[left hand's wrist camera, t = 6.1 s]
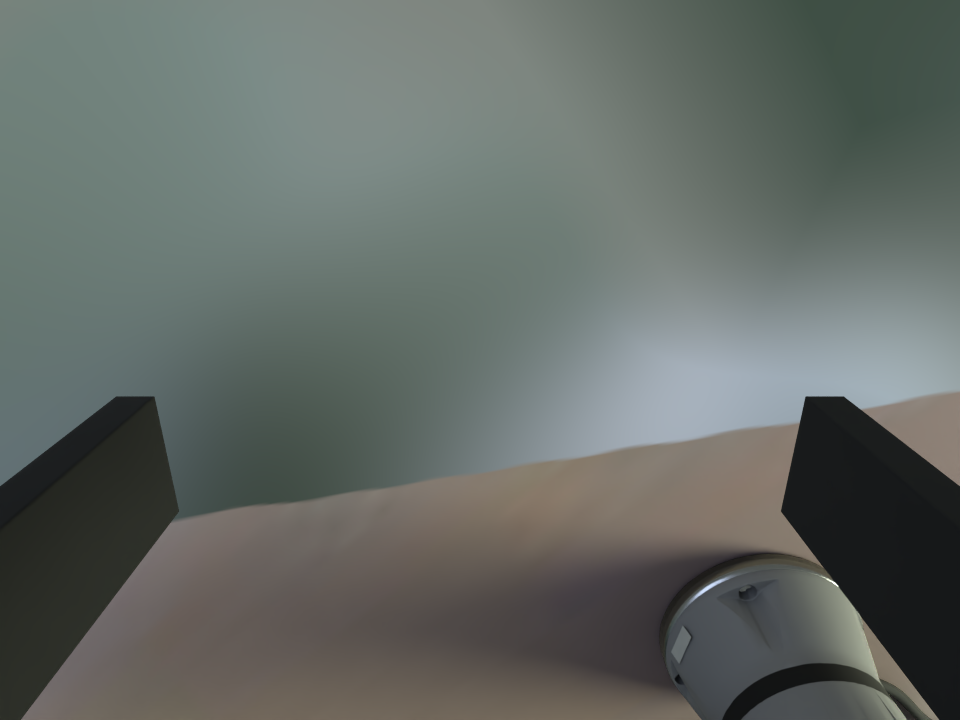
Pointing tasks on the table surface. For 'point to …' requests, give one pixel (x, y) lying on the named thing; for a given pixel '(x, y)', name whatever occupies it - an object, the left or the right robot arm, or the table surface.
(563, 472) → the table surface
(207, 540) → the table surface
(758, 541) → the table surface
